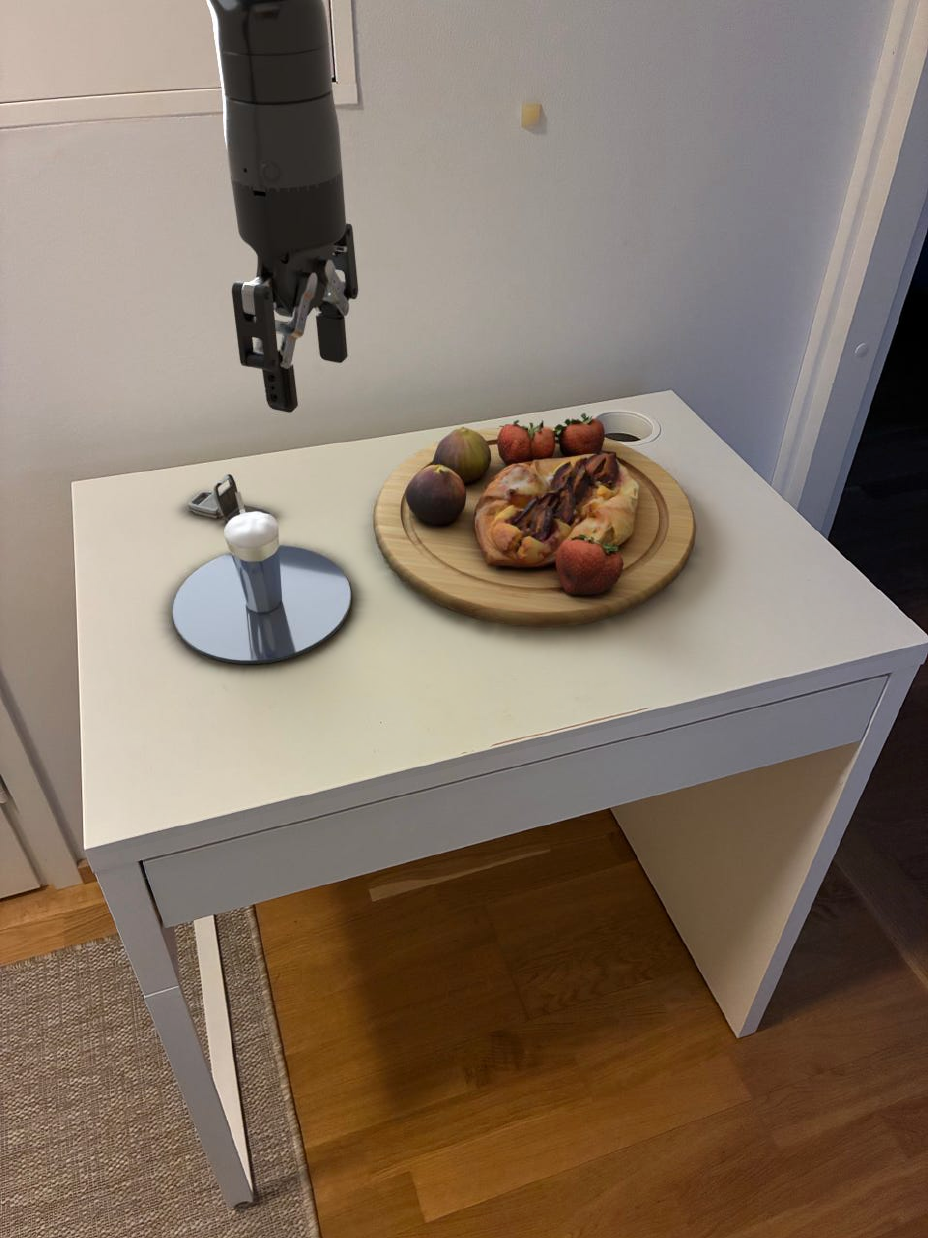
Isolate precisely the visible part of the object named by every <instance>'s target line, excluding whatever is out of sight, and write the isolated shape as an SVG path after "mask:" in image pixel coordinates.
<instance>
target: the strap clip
mask: <svg viewBox="0 0 928 1238" xmlns="http://www.w3.org/2000/svg"><path fill="white" fill-rule="evenodd" d="M227 481H228V483H229V485H228V486H227V487H226V488H225V489H224V490H222V491H221V492H219V488H220V487H221V486H222V485H223V484H225V483H226V482H227ZM237 492H239V490H238V487H237V483H236V481H235V479H234V477H233V475H232V474H230V473H227V474H226V475H224V476H223V477H222V478H221V479H220V480H219V481H217V482H216V483H215V484H214V485H213V491H212V490H203V491H200V492H199V493H198V494H197V495H196V496H194V497H193V498H192V499H191V500H190V501H189V502H188V503H187V508H188V509H189V510H190V511H191V512H192V513H194V514H196V515H200V516H204V517H207V518H212V519H218V518H221V517H224V518H226V520H227V523H228V522H229V521H230V520H231V519H232V518H233V517H235V516H238V515H240V511H239V507H238V504H237V500H236V496H235V493H237ZM243 505H244V508H245V512H246V513H248V512H255V511H258V512H262V513H265V514H269V515H271V513H270V512H269V511H268V510H267V511H266V510H264V509H262V508H257V507H254V506H250V505H245V504H243Z"/></svg>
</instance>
